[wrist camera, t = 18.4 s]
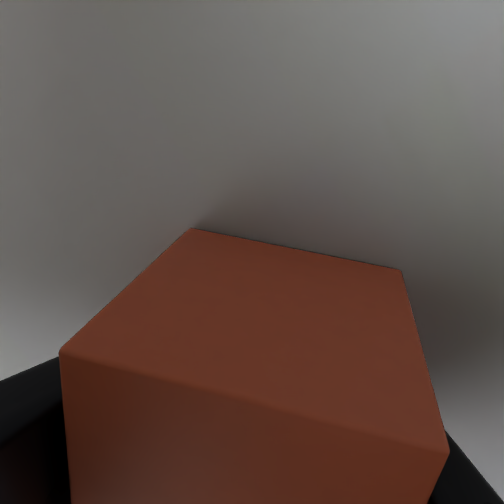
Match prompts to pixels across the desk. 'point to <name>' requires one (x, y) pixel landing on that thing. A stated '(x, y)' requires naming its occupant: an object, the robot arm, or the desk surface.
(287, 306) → the block
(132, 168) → the desk surface
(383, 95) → the desk surface
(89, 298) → the desk surface
